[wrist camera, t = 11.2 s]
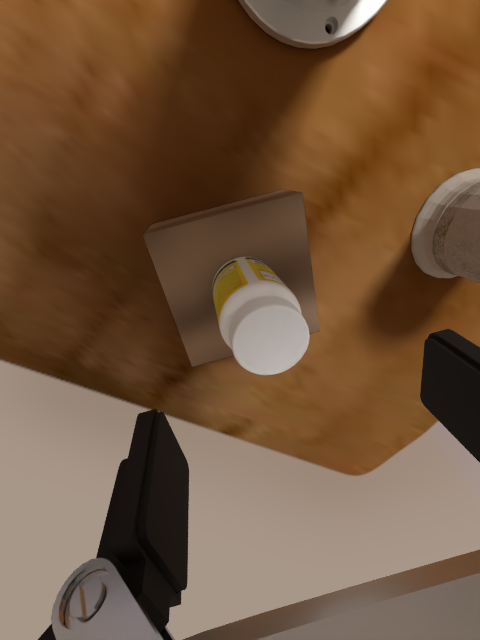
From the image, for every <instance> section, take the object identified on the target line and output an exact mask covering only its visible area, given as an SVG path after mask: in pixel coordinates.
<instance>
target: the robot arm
mask: <svg viewBox="0 0 480 640" xmlns="http://www.w3.org/2000/svg"><path fill="white" fill-rule="evenodd" d="M238 1H239V2H240V4H241V5H242V6H243V8H244V9H245V11H246V12H247V14H248V15H249V16H250V18H251V19H252V20H253V21H254V22H255V23H256V24H257V25H258V26H259V27H260V28H262V29H263V30H264V31H265V32H266V33H267V34H269V35H271V36H272V37H274V38H275V39H277V40H279V41H280V42H282V43H285V44H288V45H291V46H294V47H297V48H310V49H316V48H321V47H327V46H332V45H334V44H336V43H338V42H340V41H343V40H345V39H347V38H349V37H350V36H351V35H353V34H354V33H355V32H357V31H358V30H360V29H361V28H362V27H363V26H364V25H366V24H367V23H368V22H369V21H370V20H371V19H372V18H373V17H374V16H375V15H376V14H377V13H378V12H379V11H380V9H381V8H382V7H383V6H384V4H385V3H386V2H387V1H388V0H238ZM325 27H327V28H328V29H329V34H328V33H327V32H326V30H325ZM420 398H421V401H422V403H423V404H424V406H425V407H426V408H427V409H428V410H429V411H430V412H431V413H432V414H433V415H434V416H435V417H436V418H437V419H438V420H439V421H440V422H441V423H442V424H443V425H444V426H445V427H446V428H447V429H448V431H449V432H450V433H451V434H452V435H453V436H454V437H455V438H456V439H458V441H459V442H460V443H461V444H462V445H463V446H464V447H465V448H466V449H467V450H468V451H469V452H470V453H471V454H472V455H473V456H474V457H475V458H476V459H477V460H478V461H479V462H480V347H478V346H476V345H475V344H473V343H472V342H470V341H468V340H467V339H465V338H464V337H462V336H460V335H459V334H457V333H456V332H454V331H452V330H450V329H445V330H442V331H438V332H434V333H431V334H430V335H429V336H428V339H426V340H425V345H424V357H423V369H422V381H421V393H420ZM188 500H189V467H188V463H187V460H186V458H185V456H184V454H183V452H182V450H181V448H180V446H179V444H178V442H177V439H176V437H175V435H174V433H173V431H172V429H171V427H170V426H169V423H168V421H167V419H166V417H165V415H164V413H163V412H159V413H158V411H157V410H156V409H154V410H150V411H147V412H143V413H140V414H138V417H137V420H136V425H135V429H134V433H133V438H132V442H131V447H130V451H129V456H128V458H127V459H124V460H123V461H122V462H121V463H120V466H119V469H118V473H117V477H116V481H115V485H114V489H113V493H112V497H111V501H110V505H109V509H108V513H107V517H106V521H105V525H104V529H103V533H102V537H101V541H100V545H99V549H98V553H97V557H96V559H91V560H89V561H88V562H86V563H84V564H82V565H81V566H80V567H79V568H77V569H76V570H75V571H74V572H73V573H72V574H71V575H70V577H69V578H68V579H67V580H66V581H65V583H64V585H63V586H62V588H61V590H60V591H59V593H58V595H57V598H56V600H55V603H54V606H53V610H52V617H51V621H52V624H51V625H50V626H49V628H47V630H46V631H45V632H44V633H43V634H42V635H41V637H40V638H39V639H38V640H175V639H174V637H173V636H172V634H171V633H170V631H169V630H168V628H167V627H166V625H167V623H168V621H169V608H170V607H173V606H177V605H180V604H181V591H182V590H185V589H186V587H187V563H188ZM183 640H480V550H477V551H474V552H470V553H467V554H463V555H460V556H456V557H452V558H449V559H446V560H443V561H439V562H435V563H432V564H428V565H425V566H421V567H418V568H414V569H411V570H407V571H404V572H401V573H397V574H394V575H390V576H387V577H383V578H380V579H376V580H373V581H370V582H366V583H363V584H359V585H356V586H352V587H349V588H346V589H342V590H339V591H335V592H332V593H329V594H325V595H322V596H319V597H315V598H312V599H308V600H305V601H301V602H298V603H295V604H291V605H288V606H284V607H281V608H278V609H274V610H271V611H268V612H264V613H261V614H258V615H255V616H252V617H249V618H245V619H242V620H239V621H236V622H233V623H229V624H226V625H223V626H220V627H217V628H214V629H211V630H207V631H204V632H202V633H199V634H196V635H194V636H191V637H189V638H186V639H183Z"/></svg>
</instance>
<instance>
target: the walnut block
mask: <svg viewBox="0 0 480 640" xmlns="http://www.w3.org/2000/svg"><path fill="white" fill-rule="evenodd" d="M143 238H144V240H145V243H146V246H147V248H148V251H149V254H150V256H151V259H152V262H153V264H154V267H155V270H156V272H157V275H158V278H159V280H160V283H161V286H162V288H163V291H164V294H165V296H166V299H167V302H168V304H169V307H170V310H171V312H172V315H173V318H174V320H175V323H176V326H177V328H178V331H179V334H180V336H181V339H182V341H183V344H184V347H185V349H186V352H187V355H188V357H189V360H190V363H191V365H192V367H194V366H198V365H201V364H205V363H209V362H212V361H216V360H219V359H223V358H227V357H230V356H234V354H233V351H232V349H231V348H230V347H229V346H228V345H227V344H226V343H225V341H224V339H223V337H222V335H221V332H220V328H219V323H218V318H217V314H216V309H215V304H214V300H213V294H212V285H213V280H214V277H215V275H216V273H217V272H218V270H219V269H220V268H221V267H222V266H223V265H224V264H225V263H227V262H229V261H230V260H233V259H235V258H239V257H253V258H257V259H259V260H261V261H263V262H264V263H265V264H267V265H268V266H269V267H270V269H271V270H272V271H273V272H274V273H275V274H276V275H277V276H278V277H279V279H280V280H281V281H282V282H283V283H284V284H285V285H286V286H287V287H288V288H289V289H290V290H291V292H292V293H293V294H294V295H295V297H296V299H297V300H298V302H299V305H300V308H301V314H302V316H303V318H304V319H305V321H306V323H307V325H308V328H309V334H313V333H316V332H320V331H319V323H318V315H317V306H316V298H315V290H314V282H313V274H312V266H311V258H310V250H309V242H308V234H307V225H306V217H305V209H304V201H303V193H302V192H296V191H289V190H279V191H275V192H271V193H267V194H264V195H260V196H256V197H252V198H248V199H245V200H241V201H237V202H233V203H230V204H226V205H222V206H218V207H214V208H211V209H207V210H203V211H199V212H195V213H192V214H188V215H184V216H180V217H176V218H173V219H169V220H165V221H161V222H158V223H154V224H151V225H150V227H149V228H148V229H147V230H146V231H145V232H144V234H143Z"/></svg>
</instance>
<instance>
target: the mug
mask: <svg viewBox="0 0 480 640" xmlns="http://www.w3.org/2000/svg"><path fill="white" fill-rule="evenodd" d="M411 251H412V254H413V257H414V260H415V263H416V264H417V265H418V266H419V267H420V269H421V270H422V271H423V272H424V273H426V274H429V275H431V276H433V277H436V278H453V277H456V276H461V277H464V278H467V279H469V280H472V281H475V282H478V283H480V169H471V170H467V171H464V172H461V173H457V174H456V175H454V176H453V177H451V178H449V179H448V180H446V181H445V182H443V183H442V184H440V185H439V186H438V188H437V189H436V190H435V191H434V192H433V193H432V194H431V195H430V196H429V197H428V198H427V199H426V201H425V203H424V204H423V206H422V208H421V210H420V211H419V213H418V215H417V217H416V220H415V223H414V227H413V230H412V234H411Z"/></svg>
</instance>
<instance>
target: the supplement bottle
mask: <svg viewBox="0 0 480 640" xmlns="http://www.w3.org/2000/svg"><path fill="white" fill-rule="evenodd" d="M212 294H213V300H214V304H215V309H216V314H217V318H218V323H219V328H220V332H221V335H222V337H223V339H224V341H225V343H226V344H227V345H228V346H229V347H230V348H231V349H232V351H233V354H234V357H235V359H236V360H237V362H238V363H239V364H240V365H241V366H242V367H243V368H245V369H246V370H248V371H250V372H252V373H255V374H259V375H273V374H277V373H281V372H283V371H285V370H287V369H289V368H291V367H292V366H293V365H295V364H296V363H297V362H298V361H299V360H300V359H301V358H302V356H303V355H304V353H305V351H306V349H307V347H308V343H309V328H308V325H307V323H306V321H305V319H304V318H303V316H302V314H301V308H300V305H299V302H298V300H297V299H296V297H295V295H294V294H293V293H292V292H291V290H290V289H289V288H288V287H287V286H286V285H285V284H284V283H283V282H282V281H281V280H280V279H279V277H278V276H277V275H276V274H275V273H274V272H273V271H272V270H271V269H270V267H269V266H268V265H267V264H265V263H264V262H263V261H261V260H259V259H257V258H253V257H239V258H235V259H233V260H230V261H229V262H227V263H225V264H224V265H223V266H222V267H221V268H220V269H219V270H218V272H217V273H216V275H215V277H214V280H213V285H212Z"/></svg>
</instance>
